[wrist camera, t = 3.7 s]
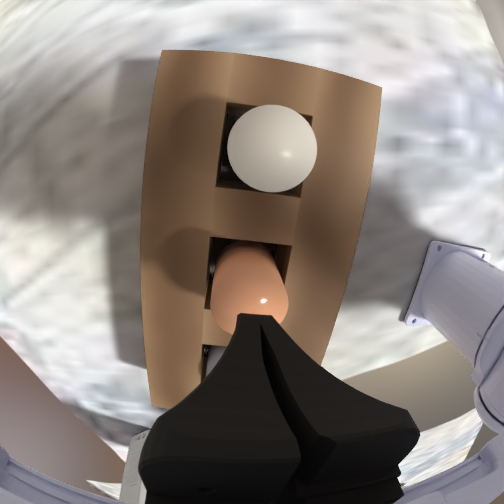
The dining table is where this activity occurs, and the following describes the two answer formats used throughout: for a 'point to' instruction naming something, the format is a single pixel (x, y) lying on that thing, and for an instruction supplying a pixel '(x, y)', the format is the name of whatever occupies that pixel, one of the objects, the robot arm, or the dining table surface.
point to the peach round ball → (246, 285)
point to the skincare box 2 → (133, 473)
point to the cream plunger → (272, 148)
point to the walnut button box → (245, 203)
